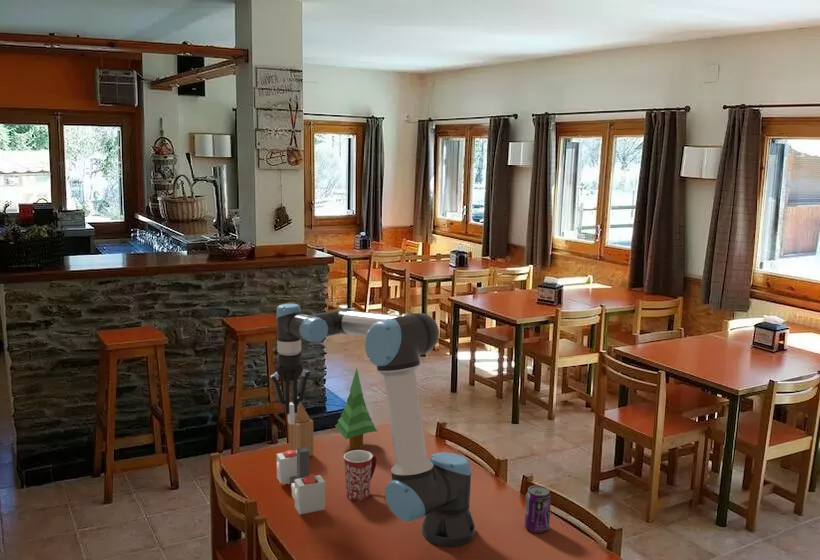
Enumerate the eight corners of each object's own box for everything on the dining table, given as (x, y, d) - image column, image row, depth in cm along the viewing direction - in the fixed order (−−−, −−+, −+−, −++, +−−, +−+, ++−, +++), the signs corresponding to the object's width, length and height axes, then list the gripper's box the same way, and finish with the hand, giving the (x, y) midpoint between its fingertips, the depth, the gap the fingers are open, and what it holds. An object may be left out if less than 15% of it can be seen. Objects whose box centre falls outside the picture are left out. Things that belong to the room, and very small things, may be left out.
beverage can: (543, 537, 209) (545, 498, 207) (520, 530, 213) (522, 491, 211) (552, 526, 215) (554, 488, 213) (530, 519, 219) (532, 482, 217)
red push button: (297, 462, 239) (297, 453, 239) (286, 463, 238) (286, 455, 237) (294, 457, 243) (294, 449, 242) (283, 459, 241) (283, 451, 240)
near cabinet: (325, 509, 223) (325, 481, 221) (298, 514, 219) (298, 486, 218) (319, 502, 227) (319, 474, 225) (294, 507, 224) (293, 479, 222)
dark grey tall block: (315, 500, 228) (315, 451, 225) (296, 504, 225) (296, 454, 222) (309, 492, 233) (309, 444, 230) (291, 495, 231) (290, 447, 228)
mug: (358, 505, 225) (358, 464, 223) (337, 496, 231) (337, 456, 229) (385, 491, 235) (386, 452, 232) (365, 482, 241) (365, 444, 238)
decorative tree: (382, 441, 274) (383, 364, 269) (362, 457, 260) (363, 376, 255) (350, 435, 280) (350, 359, 274) (329, 450, 266) (329, 370, 260)
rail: (310, 503, 226) (310, 496, 225) (304, 505, 225) (304, 497, 225) (296, 483, 240) (295, 475, 239) (290, 484, 239) (289, 476, 238)
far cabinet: (304, 481, 241) (304, 455, 239) (280, 485, 237) (280, 459, 236) (300, 475, 245) (300, 449, 244) (276, 479, 242) (275, 453, 240)
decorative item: (303, 449, 266) (303, 397, 262) (314, 455, 261) (313, 402, 257) (288, 454, 261) (287, 401, 258) (298, 460, 257) (298, 406, 253)
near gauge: (317, 488, 221) (317, 479, 221) (305, 491, 220) (305, 481, 219) (313, 483, 224) (313, 474, 224) (302, 485, 223) (302, 476, 222)
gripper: (305, 347, 240) (307, 416, 243) (266, 351, 234) (268, 422, 238) (312, 352, 233) (314, 423, 237) (272, 357, 227) (274, 429, 231)
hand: (291, 422), depth 237 cm, fingers closed
